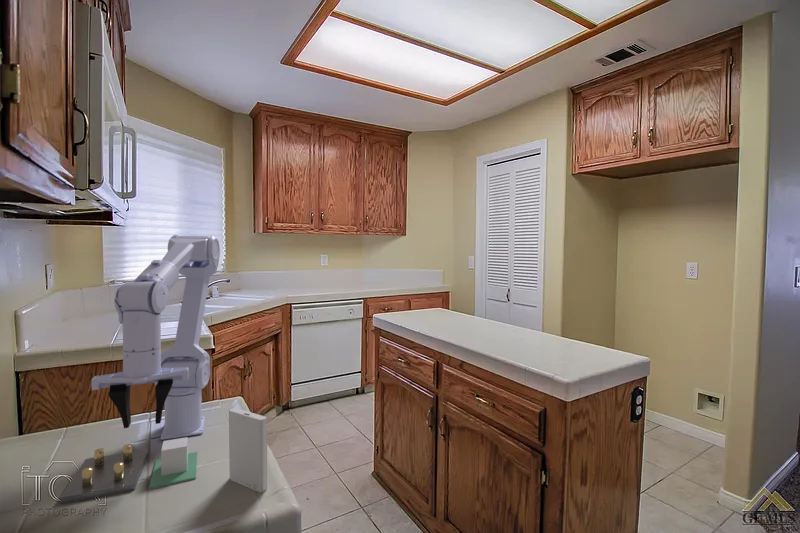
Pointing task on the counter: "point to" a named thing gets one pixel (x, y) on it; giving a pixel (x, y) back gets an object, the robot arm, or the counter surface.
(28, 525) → the counter surface
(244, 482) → the external hard drive
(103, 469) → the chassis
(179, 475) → the board
